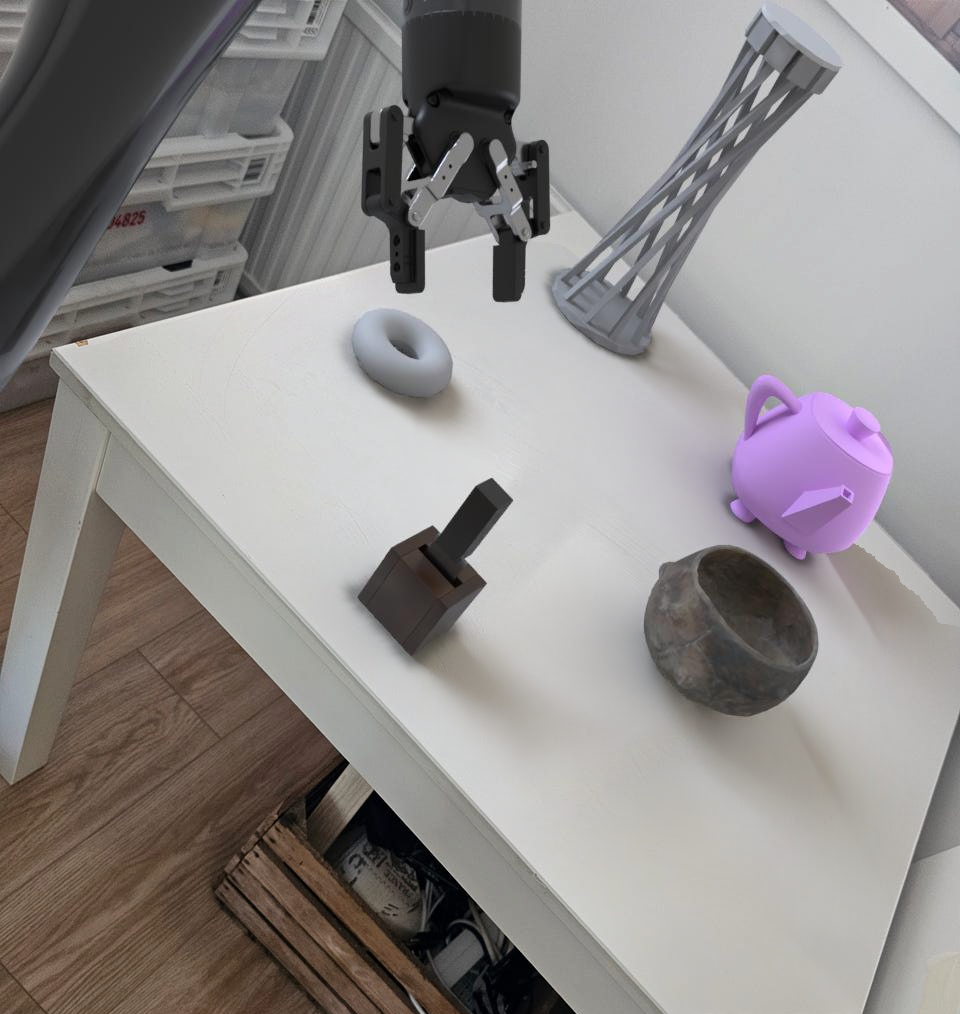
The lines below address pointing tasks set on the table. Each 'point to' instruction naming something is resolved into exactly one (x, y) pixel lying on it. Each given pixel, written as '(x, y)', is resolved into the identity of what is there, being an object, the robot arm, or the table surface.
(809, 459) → the teapot
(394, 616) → the knife block
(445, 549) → the knife
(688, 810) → the table surface
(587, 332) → the gray lattice tower
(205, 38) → the robot arm
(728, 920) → the table surface
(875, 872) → the table surface
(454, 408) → the table surface
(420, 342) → the donut
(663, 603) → the bowl
